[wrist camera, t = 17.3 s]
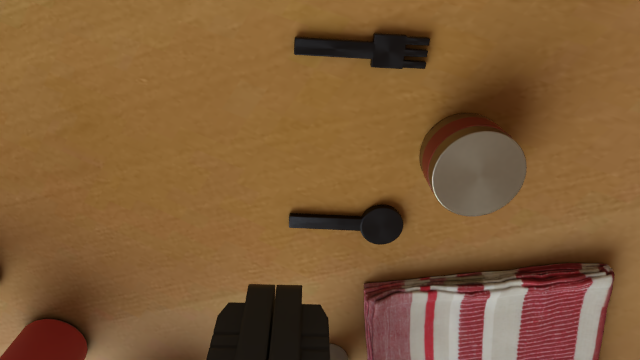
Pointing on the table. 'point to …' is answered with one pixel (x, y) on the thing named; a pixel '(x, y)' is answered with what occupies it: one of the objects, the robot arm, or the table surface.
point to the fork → (368, 49)
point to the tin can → (472, 164)
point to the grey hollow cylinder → (337, 353)
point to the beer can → (47, 342)
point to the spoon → (356, 223)
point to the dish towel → (491, 315)
